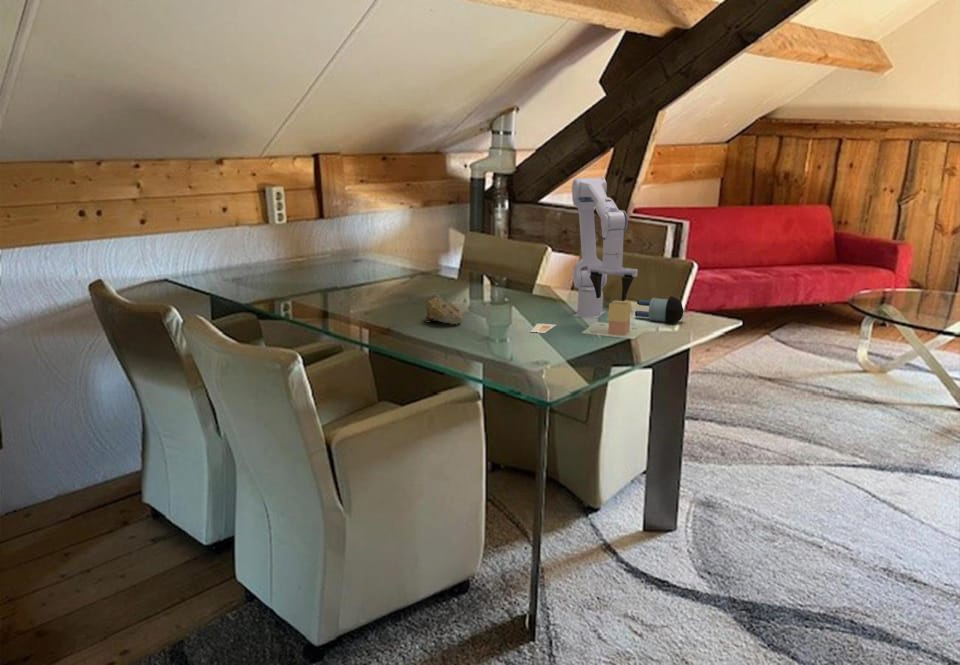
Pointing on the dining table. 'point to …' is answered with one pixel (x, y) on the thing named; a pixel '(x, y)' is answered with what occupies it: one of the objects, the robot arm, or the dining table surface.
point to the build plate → (602, 329)
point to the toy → (662, 310)
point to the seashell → (442, 311)
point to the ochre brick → (619, 311)
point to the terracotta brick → (619, 327)
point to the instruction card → (542, 328)
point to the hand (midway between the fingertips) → (611, 298)
